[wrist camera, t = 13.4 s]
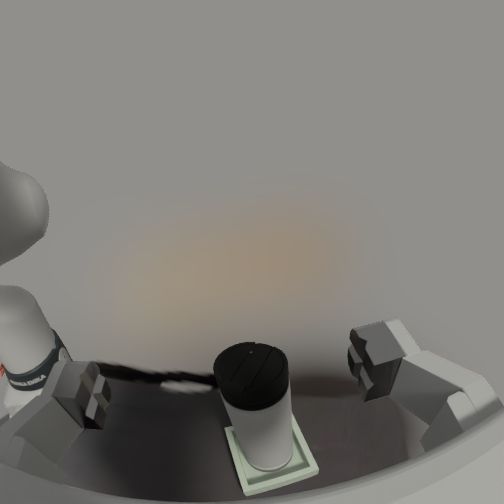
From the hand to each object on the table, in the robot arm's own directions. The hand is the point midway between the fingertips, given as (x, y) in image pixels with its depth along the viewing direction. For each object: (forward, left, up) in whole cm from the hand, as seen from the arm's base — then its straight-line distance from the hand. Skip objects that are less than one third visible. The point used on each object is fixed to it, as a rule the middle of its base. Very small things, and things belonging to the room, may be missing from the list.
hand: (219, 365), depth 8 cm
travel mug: (+2, +10, -32) cm, 33 cm away
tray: (+2, +10, -32) cm, 34 cm away
